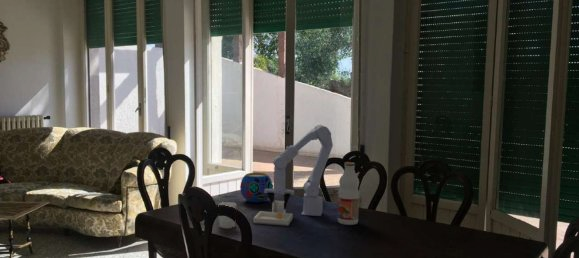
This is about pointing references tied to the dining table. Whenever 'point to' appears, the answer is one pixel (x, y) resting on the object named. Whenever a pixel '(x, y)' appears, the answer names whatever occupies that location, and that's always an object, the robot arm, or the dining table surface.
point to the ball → (278, 215)
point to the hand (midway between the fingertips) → (278, 208)
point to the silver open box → (278, 207)
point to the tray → (273, 218)
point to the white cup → (226, 221)
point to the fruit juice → (348, 196)
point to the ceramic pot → (255, 187)
